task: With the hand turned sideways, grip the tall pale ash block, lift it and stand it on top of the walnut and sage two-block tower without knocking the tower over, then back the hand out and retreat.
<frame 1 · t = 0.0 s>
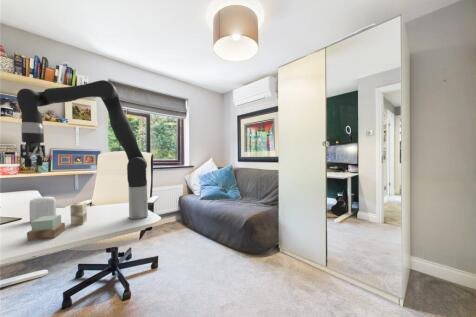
hand: (34, 166, 98), 29 cm above the table, tool pointing down, fingers open, 8 cm apart
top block: (47, 227, 88), point 4 cm above the table, touching bottom block
ash block: (79, 223, 103), on the table
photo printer: (43, 220, 108), on the table
bottom block: (47, 236, 88), on the table, touching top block
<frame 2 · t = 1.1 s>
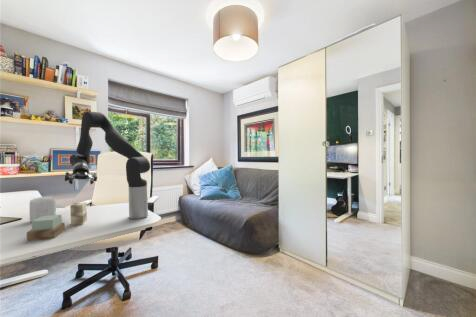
hand: (81, 182, 109), 20 cm above the table, tool tilted 70°, fingers open, 8 cm apart
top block: (47, 226, 88), point 4 cm above the table
bottom block: (47, 236, 88), on the table
everything else where it was.
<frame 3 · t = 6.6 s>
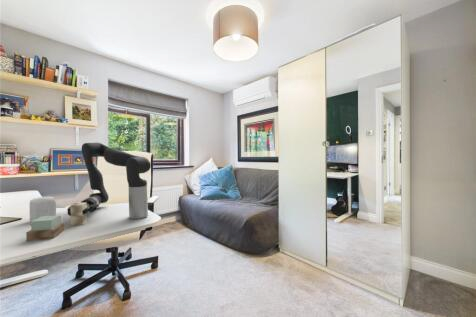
hand: (76, 213, 100), 6 cm above the table, tool horizontal, fingers closed on ash block, 5 cm apart
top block: (46, 227, 88), point 4 cm above the table, touching bottom block
ash block: (79, 223, 103), on the table, touching gripper
bottom block: (46, 236, 88), on the table, touching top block
everything else where it was.
when the fingers open (15 cm above the table, at t = 11.2 s): ash block drops 1 cm, resting on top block.
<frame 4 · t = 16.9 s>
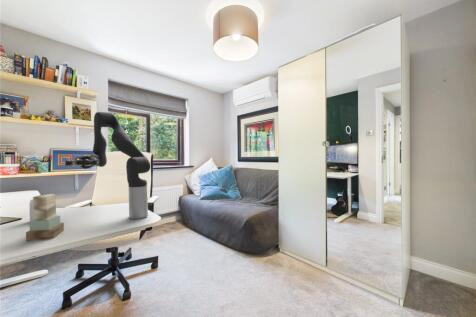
hand: (77, 163, 108), 30 cm above the table, tool horizontal, fingers open, 8 cm apart
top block: (45, 227, 88), point 4 cm above the table, touching ash block, bottom block
ash block: (45, 218, 88), point 8 cm above the table, touching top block
everything else where it was.
at the end: ash block 0.4 cm off-centre on the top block, point 4.1 cm above the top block's base; ash block tilted 2°; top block moved 0.6 cm from its start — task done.
